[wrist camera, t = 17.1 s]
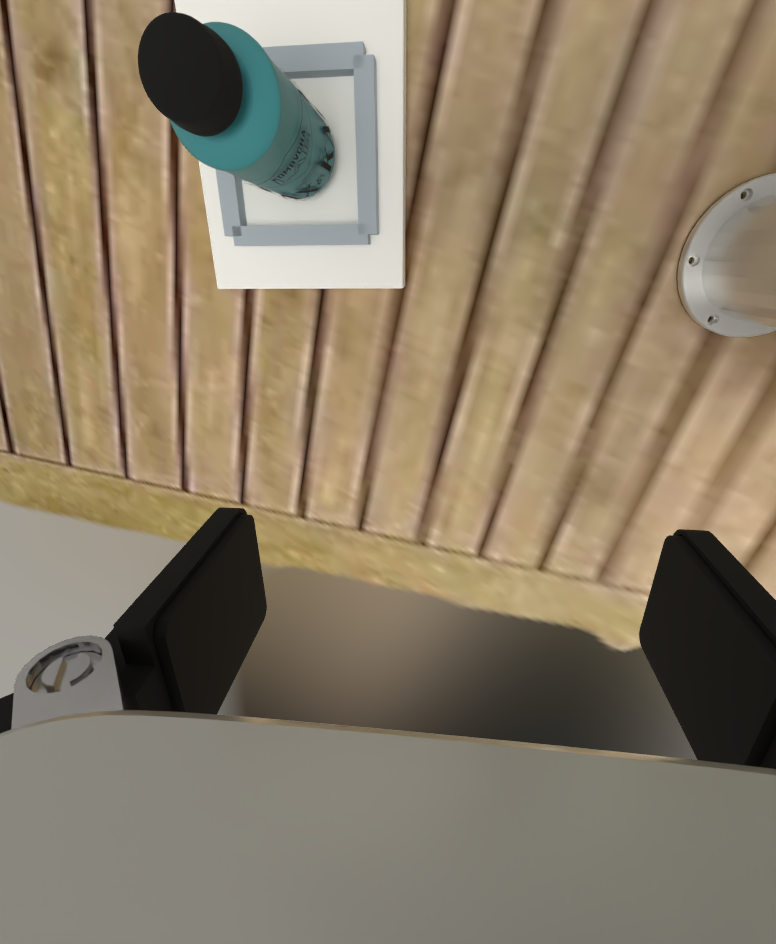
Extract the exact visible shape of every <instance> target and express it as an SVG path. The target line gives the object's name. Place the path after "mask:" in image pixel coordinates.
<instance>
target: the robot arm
mask: <svg viewBox="0 0 776 944" xmlns="http://www.w3.org/2000/svg"><path fill="white" fill-rule="evenodd" d="M741 193H743V197H742V199H741ZM690 257H691V258H692V262H691V263H690V264H689V259H690ZM677 281H678V290H679V295H680V298H681V301H682V304H683V306H684V308H685V309H686V311H687V313H688V314H689V316H690V317H691V318H692V319H693V320H694V321H695V322H696V323H697V324H698V325H700V326H702V327H703V328H705V329H707V330H709V331H711V332H714V333H717V334H720V335H724V336H729V337H743V338H748V337H754V336H760V335H765V334H768V333H771V332H774V331H776V173H772V174H768V175H765V176H761V177H757V178H755V179H753V180H750V181H748V182H745V183H743V184H741V185H739V186H737V187H736V188H734V189H733V190H731V191H729V192H728V193H726V194H725V195H724V196H722V197H721V198H720V199H719V200H718V201H716V202H715V203H714V204H713V205H712V206H711V207H710V208H709V209H708V210H707V211H706V212H705V214H704V215H703V216H702V217H701V218H700V219H699V221H698V222H697V224H696V225H695V227H694V228H693V230H692V231H691V233H690V234H689V237H688V239H687V241H686V243H685V245H684V248H683V250H682V254H681V257H680V261H679V265H678V277H677ZM710 316H711V319H710V320H709V321H708V318H709V317H710ZM266 607H267V605H266V597H265V591H264V584H263V577H262V570H261V564H260V557H259V550H258V543H257V537H256V530H255V523H254V518H253V516H252V515H247V513H246V511H245V510H244V509H242V508H218V509H217V510H216V511H215V512H214V513H213V514H212V516H211V517H210V518H209V519H208V520H207V521H206V522H205V523H204V524H203V526H202V527H201V528H200V529H199V530H198V531H197V532H196V533H195V535H194V536H193V537H192V538H191V539H190V540H189V541H188V542H187V543H186V545H185V546H184V547H183V548H182V549H181V550H180V551H179V553H178V554H177V555H176V556H175V557H174V558H173V559H172V560H171V561H170V563H169V564H168V565H167V566H166V567H165V568H164V569H163V570H162V572H161V573H160V574H159V575H158V576H157V577H156V578H155V579H154V580H153V581H152V583H151V584H150V585H149V586H148V587H147V588H146V589H145V590H144V591H143V593H142V594H141V595H140V596H139V597H138V598H137V599H136V600H135V602H134V603H133V604H132V605H131V606H130V607H129V608H128V609H127V610H126V612H125V613H124V614H123V615H122V616H121V617H120V618H119V619H118V621H117V622H116V623H115V624H114V629H113V630H112V631H111V632H110V633H109V634H108V635H107V637H106V638H105V639H103V638H102V637H97V636H79V637H75V638H72V639H67V640H64V641H61V642H59V643H57V644H55V645H52V646H50V647H48V648H47V649H45V650H44V651H42V652H40V653H39V654H37V655H36V656H35V657H34V658H32V659H31V660H30V661H29V662H28V663H27V664H26V665H25V666H24V667H23V668H22V670H21V671H20V672H19V674H18V675H17V678H16V681H15V684H14V693H12V694H10V695H8V696H5V697H3V698H1V699H0V944H776V600H775V599H774V598H773V597H772V596H771V595H770V594H769V593H768V592H767V591H766V590H765V589H764V588H763V586H762V585H761V584H760V583H759V582H758V581H757V580H756V579H755V578H754V577H753V576H752V575H751V574H750V573H749V572H748V571H747V570H746V569H745V568H744V567H743V565H742V564H741V563H740V562H739V561H738V560H737V559H736V558H735V557H734V556H733V555H732V554H731V553H730V552H729V551H728V550H727V549H726V548H725V547H724V546H723V544H722V543H721V542H720V541H719V540H718V539H717V538H716V537H715V536H714V535H713V534H712V533H711V532H709V531H702V530H681V529H679V530H677V531H676V532H675V533H674V535H673V536H667V538H666V539H665V541H664V544H663V548H662V552H661V555H660V559H659V562H658V566H657V570H656V573H655V577H654V580H653V584H652V588H651V591H650V595H649V598H648V602H647V606H646V609H645V613H644V616H643V620H642V623H641V627H640V632H639V638H640V644H641V647H642V649H643V651H644V653H645V655H646V657H647V659H648V661H649V663H650V665H651V667H652V669H653V671H654V673H655V675H656V677H657V679H658V681H659V683H660V685H661V687H662V689H663V691H664V693H665V695H666V697H667V699H668V701H669V703H670V705H671V707H672V709H673V711H674V713H675V715H676V717H677V719H678V721H679V723H680V725H681V727H682V729H683V731H684V733H685V735H686V737H687V739H688V741H689V743H690V745H691V747H692V749H693V751H694V753H695V755H696V757H697V759H698V760H692V759H683V758H673V757H663V756H653V755H643V754H633V753H623V752H614V751H603V750H594V749H584V748H574V747H564V746H554V745H544V744H533V743H524V742H523V743H522V742H514V741H503V740H493V739H482V738H472V737H461V736H451V735H440V734H430V733H419V732H408V731H398V730H388V729H376V728H365V727H355V726H342V725H332V724H320V723H310V722H309V723H308V722H299V721H287V720H276V719H265V718H254V717H241V716H228V715H217V713H218V711H219V709H220V707H221V705H222V703H223V701H224V699H225V697H226V695H227V693H228V691H229V689H230V687H231V685H232V683H233V681H234V679H235V677H236V675H237V673H238V671H239V669H240V667H241V665H242V663H243V661H244V659H245V657H246V655H247V653H248V651H249V649H250V647H251V645H252V642H253V641H254V638H255V637H256V635H257V633H258V631H259V629H260V627H261V625H262V623H263V621H264V618H265V614H266Z"/></svg>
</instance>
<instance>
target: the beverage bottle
mask: <svg viewBox="0 0 776 944" xmlns="http://www.w3.org/2000/svg"><path fill="white" fill-rule="evenodd" d="M138 67H139V73H140V78H141V81H142V84H143V87H144V89H145V91H146V93H147V95H148V97H149V98H150V100H151V101H152V103H153V104H154V105H155V107H156V108H157V109H158V110H159V111H160V112H161V113H162V114H163V115H164V116H166V117H167V118H169V119H170V122H171V124H172V127H173V129H174V131H175V133H176V135H177V136H178V138H179V140H180V141H181V143H182V144H183V145H184V146H185V148H186V149H187V150H188V151H189V152H190V153H191V154H192V155H193V156H194V157H195V158H196V159H198V160H199V161H201V162H202V163H204V164H205V165H207V166H209V167H212V168H214V169H217V170H221V171H225V172H228V173H230V174H232V175H233V176H234V175H235V176H237V177H239V178H240V179H242V180H245V181H248V182H250V183H253V184H255V186H256V185H258V189H260V188H261V189H264V190H265V191H267V192H268V191H269V192H271V191H273V192H275V194H276V193H278V194H280V195H281V196H282V197H284V196H285V197H289V198H293V199H295V200H296V199H302V200H303V198H306V200H307V197H308V198H310V196H311V197H312V196H314V195H315V194H317V192H319V191H320V190H321V189H322V188H323V187H324V186H325V185H326V183H327V182H328V180H329V178H330V176H331V174H332V171H333V167H334V162H335V147H334V141H333V139H334V138H332V136H333V135H331V132H332V131H330V130H331V129H329V127H330V126H327V124H326V123H325V121H326V120H325V121H324V120H323V119H322V118H321V116H322V117H323V118H324V116H323V115H322V114H321V113H320V112H319V111H318V110H317V108H316V107H315V108H316V110H317V112H319V113H320V115H321V116H320V115H319V114H318V113H317V112H316V110H315V109H314V108H313V107H312V106H313V105H310V102H309V100H308V99H307V98H306V97H305V96H304V94H303V93H302V92H301V91H300V90H299V89H297V88H296V87H295V86H296V84H295V86H294V84H293V83H292V82H291V81H290V80H291V79H290V80H289V79H288V77H286V76H285V75H284V74H283V73H282V72H281V71H280V69H279V68H278V67H277V66H276V65H275V64H274V62H273V61H272V60H271V59H270V58H269V57H268V55H267V53H266V52H265V50H264V49H263V48H262V47H261V45H260V44H259V43H258V42H257V41H256V40H255V39H254V38H253V37H252V36H250V35H249V34H248V33H247V32H245V31H244V30H242V29H240V28H238V27H236V26H234V25H231V24H228V23H224V22H208V23H204V24H202V23H201V22H199V21H198V20H196V19H195V18H193V17H191V16H189V15H186V14H183V13H177V12H169V13H164V14H162V15H159V16H158V17H156V18H155V19H153V20H152V21H151V22H150V23H149V25H148V26H147V27H146V29H145V31H144V33H143V35H142V38H141V41H140V45H139V50H138ZM282 71H283V70H282ZM284 72H285V71H284ZM289 76H290V75H289ZM293 82H294V81H293ZM294 83H295V82H294ZM299 88H300V87H299ZM324 119H325V118H324ZM334 140H335V139H334ZM335 146H336V145H335ZM335 163H336V162H335ZM334 168H335V167H334ZM333 172H334V171H333ZM332 175H333V174H332ZM235 176H234V177H235ZM331 177H332V176H331ZM235 178H236V177H235ZM330 179H331V178H330ZM239 181H240V180H239ZM329 181H330V180H329ZM250 183H249V184H250ZM247 184H248V183H247ZM253 184H250V185H253ZM259 187H260V188H259ZM262 187H263V188H262ZM325 187H326V186H325ZM325 187H324V188H325ZM267 189H268V190H267ZM271 193H272V192H271ZM319 193H320V192H319ZM319 193H318V194H319ZM278 196H279V195H278ZM315 196H316V195H315ZM279 197H280V196H279ZM285 197H284V198H285ZM285 199H287V198H285ZM288 200H289V199H288ZM302 200H301V201H302Z"/></svg>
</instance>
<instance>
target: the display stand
mask: <svg viewBox="0 0 776 944" xmlns="http://www.w3.org/2000/svg"><path fill="white" fill-rule="evenodd" d="M175 6H176V12H177V13H183V14H186V15H189V16H191V17H193V18H195V19H196V20H198V21H199V22H201V23H202V24H204V23H208V22H224V23H228V24H231V25H234V26H236V27H238V28H240V29H242V30H244V31H245V32H247V33H248V34H249V35H250V36H252V37H253V38H254V39H255V40H256V41H257V42H258V43H259V44H260V45H261V47H262V48H263V49H264V50H265V52H266V53H267V55H268V57H269V58H270V59H271V60H272V61H273V62H274V64H275V65H276V66H277V67H278V68H279V69H280V71H281V72H282V73H283V74H284V75H285V76H286V77H288V79H289V80H290V79H291V80H290V81H291V82H292V83H293V84H294V86H295V84H296V86H295V87H296V88H297V89H299V90H300V91H301V92H302V93H303V94H304V96H305V97H306V98H307V99H308V100H309V102H310V105H313V106H312V107H313V108H314V109H315V110H316V108H317V110H318V111H319V112H320V113H321V114H322V115H323V116H324V118H325V119H324V118H323V117H322V116H321V115H320V113H319V112H317V110H316V112H317V113H318V114H319V115H320V116H321V118H322V119H323V120H324V121H325V120H326V121H325V123H326V124H327V126H330V127H329V129H331V130H330V131H332V132H331V135H333V136H332V138H334V139H335V140H334V139H333V141H334V147H335V162H336V163H335V162H334V167H335V168H334V167H333V171H334V172H333V171H332V174H333V175H332V174H331V176H332V177H331V176H330V178H331V179H330V178H329V180H330V181H329V180H328V182H327V183H326V185H325V186H326V187H325V186H324V187H325V188H324V187H323V188H322V189H321V190H320V191H319V192H320V193H319V192H317V194H315V195H316V196H315V195H314V196H312V197H311V196H310V198H308V197H307V200H306V198H303V200H302V199H296V200H295V199H293V198H289V197H285V196H284V197H285V198H287V199H285V198H284V197H282V196H281V195H280V194H278V193H276V194H275V192H273V191H271V192H272V193H271V192H269V191H268V192H267V191H265V190H264V189H261V188H260V187H259V188H260V189H258V185H256V186H255V184H253V183H250V182H248V181H245V180H242V179H240V178H239V177H237V176H235V175H234V176H235V177H236V178H235V177H234V176H233V175H232V174H230V173H228V172H225V171H221V170H217V169H214V168H212V167H209V166H207V165H205V164H204V163H202V162H201V161H199V166H200V173H201V180H202V186H203V193H204V200H205V206H206V213H207V220H208V226H209V233H210V240H211V246H212V253H213V260H214V266H215V273H216V280H217V286H218V289H335V288H404V287H405V222H406V39H407V3H406V0H175ZM282 70H283V71H282ZM284 71H285V72H284ZM289 75H290V76H289ZM293 81H294V82H295V83H294V82H293ZM299 87H300V88H299ZM315 107H316V108H315ZM335 145H336V146H335ZM239 180H240V181H239ZM247 183H248V184H247ZM249 183H250V184H253V185H250V184H249ZM262 188H263V187H262ZM267 190H268V189H267ZM318 193H319V194H318ZM278 195H279V196H280V197H279V196H278ZM288 199H289V200H288ZM301 200H302V201H301Z"/></svg>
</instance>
